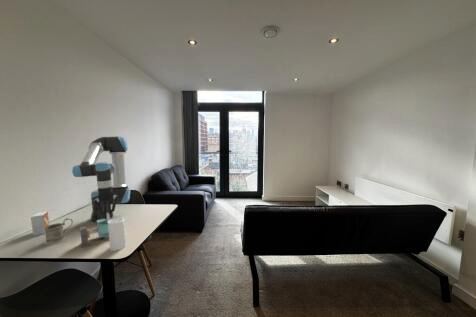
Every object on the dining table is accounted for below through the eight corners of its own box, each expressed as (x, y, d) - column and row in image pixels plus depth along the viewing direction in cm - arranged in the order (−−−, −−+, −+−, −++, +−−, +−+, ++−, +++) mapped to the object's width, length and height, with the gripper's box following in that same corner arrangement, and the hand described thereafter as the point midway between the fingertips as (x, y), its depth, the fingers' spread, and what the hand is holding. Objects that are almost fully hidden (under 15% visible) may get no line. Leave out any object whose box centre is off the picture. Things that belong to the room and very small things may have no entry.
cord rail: (81, 243, 124) (79, 227, 122) (117, 233, 136) (116, 218, 135) (82, 247, 118) (80, 231, 117) (119, 236, 130) (118, 221, 129)
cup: (114, 243, 122) (112, 217, 121) (128, 242, 123) (126, 217, 121) (107, 251, 114) (104, 223, 112) (122, 250, 115) (120, 222, 113)
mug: (48, 246, 120) (45, 227, 119) (42, 242, 125) (40, 223, 124) (77, 236, 132) (75, 218, 131) (71, 232, 138) (69, 215, 136)
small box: (45, 233, 137) (43, 215, 136) (32, 235, 134) (30, 217, 133) (50, 229, 144) (47, 211, 143) (38, 231, 142) (35, 212, 140)
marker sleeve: (98, 233, 129) (96, 220, 128) (107, 231, 132) (106, 218, 131) (99, 237, 123) (97, 223, 122) (109, 235, 126) (107, 221, 125)
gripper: (92, 190, 119) (96, 228, 122) (118, 186, 128) (121, 222, 130) (91, 187, 125) (95, 224, 128) (115, 184, 133) (119, 218, 136)
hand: (108, 223), depth 129 cm, fingers closed
